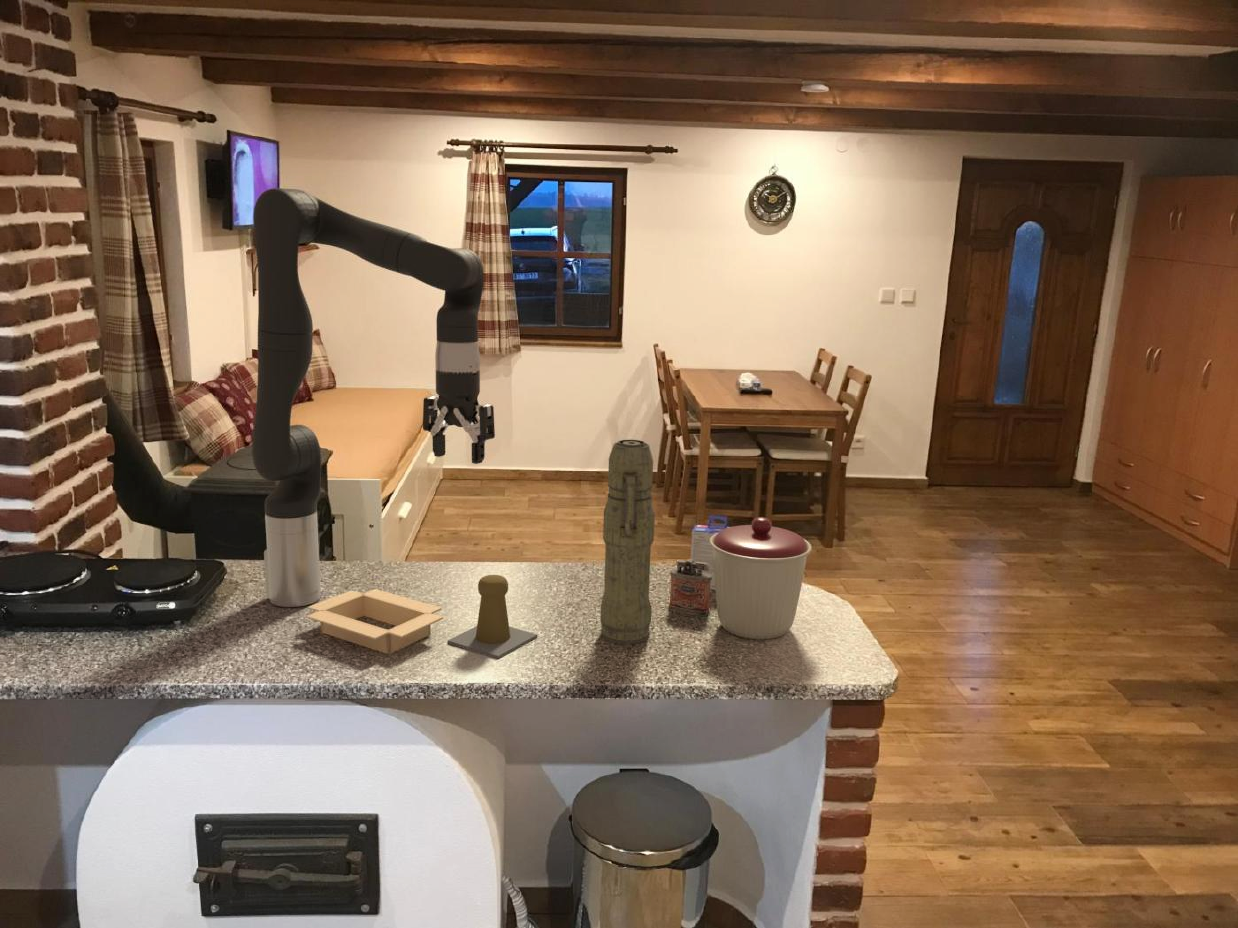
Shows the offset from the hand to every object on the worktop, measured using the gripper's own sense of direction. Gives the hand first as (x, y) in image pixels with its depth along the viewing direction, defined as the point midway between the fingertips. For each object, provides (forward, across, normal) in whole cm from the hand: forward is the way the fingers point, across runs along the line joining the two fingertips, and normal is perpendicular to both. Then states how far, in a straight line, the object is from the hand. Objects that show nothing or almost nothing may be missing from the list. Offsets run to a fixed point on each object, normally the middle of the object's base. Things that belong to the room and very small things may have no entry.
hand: (458, 459), depth 171 cm
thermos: (+30, +28, +12) cm, 43 cm away
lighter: (+30, +32, +29) cm, 53 cm away
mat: (+30, +10, -4) cm, 32 cm away
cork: (+30, +10, -3) cm, 32 cm away
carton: (+30, -8, -13) cm, 34 cm away
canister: (+30, +46, +28) cm, 62 cm away
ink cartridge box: (+30, +30, +44) cm, 61 cm away
